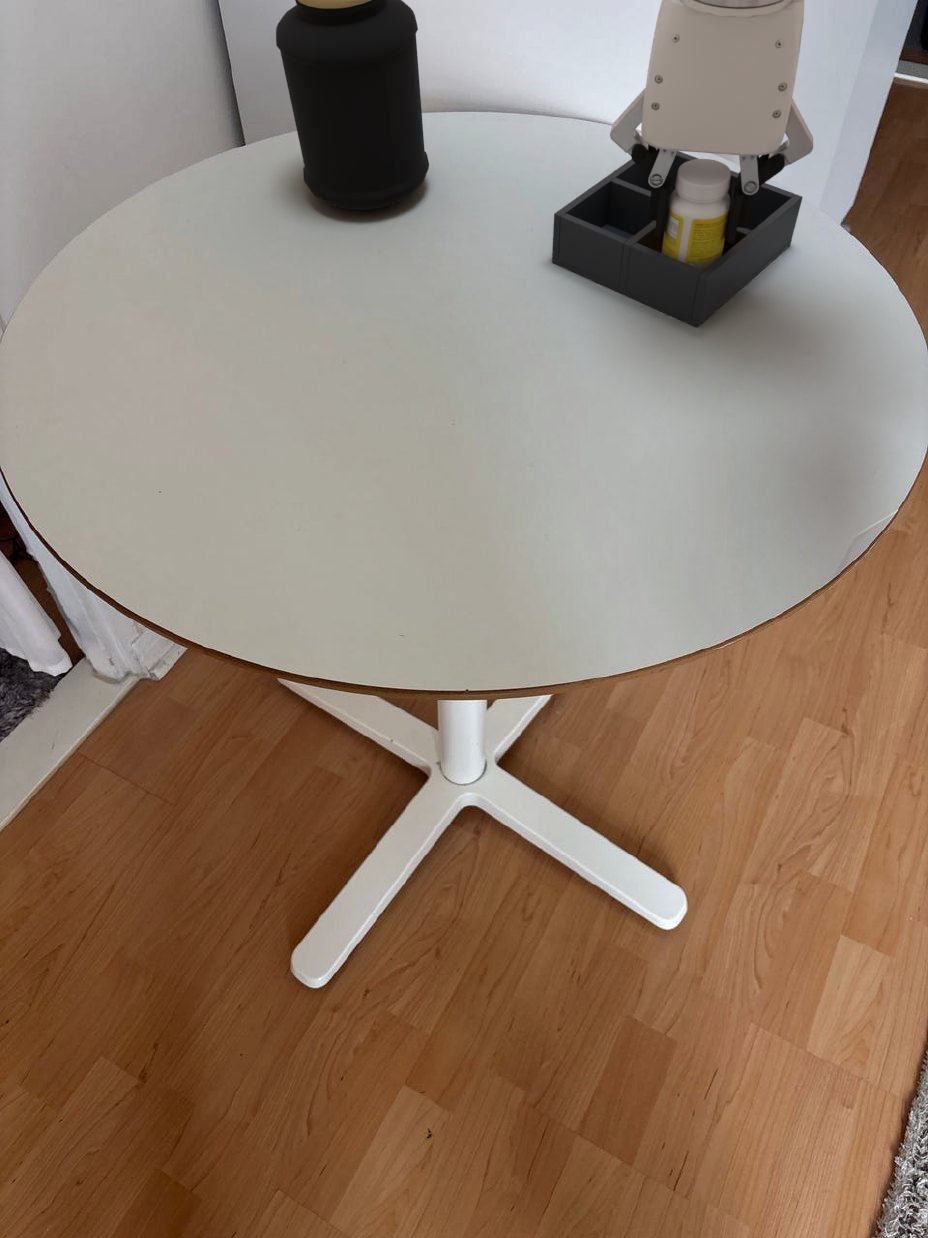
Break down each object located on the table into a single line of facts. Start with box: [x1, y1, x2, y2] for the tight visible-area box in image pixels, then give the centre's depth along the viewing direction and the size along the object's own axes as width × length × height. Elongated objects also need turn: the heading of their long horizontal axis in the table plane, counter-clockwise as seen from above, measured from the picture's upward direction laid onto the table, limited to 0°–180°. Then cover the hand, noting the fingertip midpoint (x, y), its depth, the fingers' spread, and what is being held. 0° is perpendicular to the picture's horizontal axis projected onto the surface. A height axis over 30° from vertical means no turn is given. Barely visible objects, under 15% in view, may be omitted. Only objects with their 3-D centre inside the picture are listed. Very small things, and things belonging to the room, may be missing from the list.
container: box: [275, 0, 430, 211], centre depth 86 cm, size 12×12×18 cm
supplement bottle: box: [662, 158, 732, 271], centre depth 77 cm, size 5×5×8 cm
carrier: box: [551, 147, 804, 328], centre depth 83 cm, size 15×15×4 cm
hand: (695, 228), depth 77 cm, fingers closed on supplement bottle, 4 cm apart
